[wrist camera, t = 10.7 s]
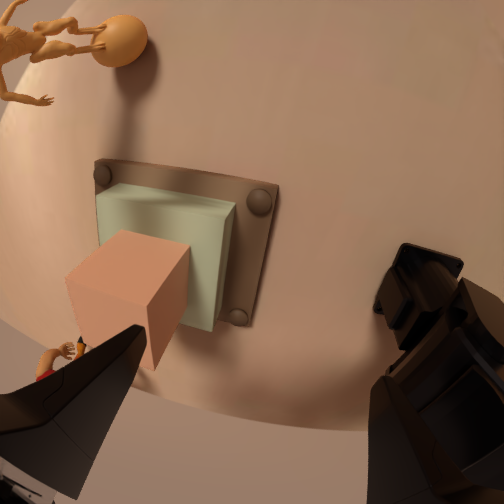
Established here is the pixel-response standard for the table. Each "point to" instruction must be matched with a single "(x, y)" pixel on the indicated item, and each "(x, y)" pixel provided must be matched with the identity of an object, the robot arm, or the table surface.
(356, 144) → the table surface
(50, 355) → the action figure
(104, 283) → the terracotta brick
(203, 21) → the table surface
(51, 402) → the robot arm
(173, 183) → the tower base
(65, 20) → the figurine
